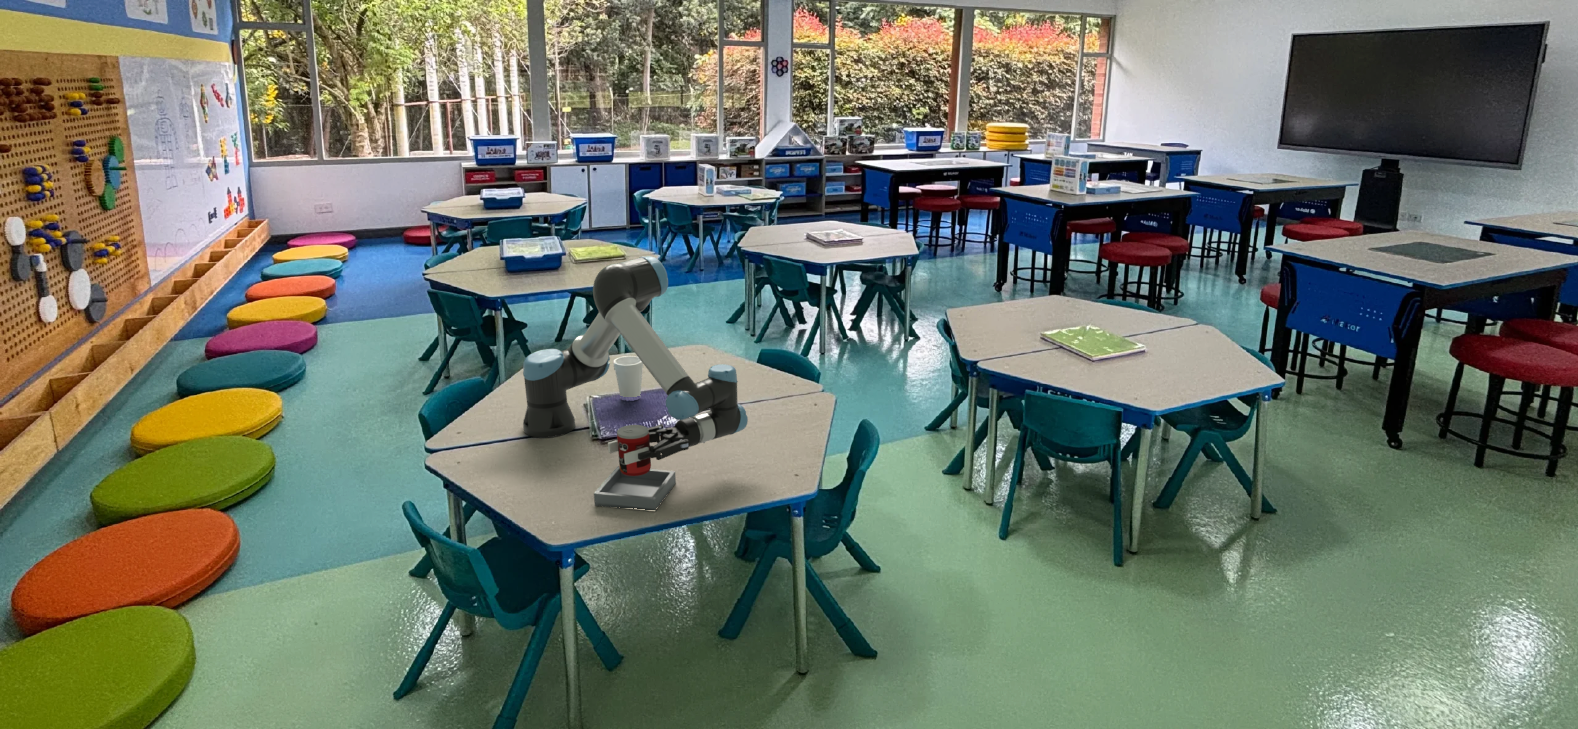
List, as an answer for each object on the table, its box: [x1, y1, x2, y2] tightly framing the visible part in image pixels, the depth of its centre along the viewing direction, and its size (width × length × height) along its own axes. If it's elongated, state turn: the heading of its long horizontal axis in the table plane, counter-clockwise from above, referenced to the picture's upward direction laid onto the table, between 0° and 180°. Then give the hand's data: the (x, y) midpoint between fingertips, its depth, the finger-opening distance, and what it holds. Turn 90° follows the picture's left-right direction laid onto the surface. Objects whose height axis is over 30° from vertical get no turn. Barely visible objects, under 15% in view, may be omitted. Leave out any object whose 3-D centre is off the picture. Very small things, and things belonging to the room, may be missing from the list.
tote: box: [593, 465, 677, 511], centre depth 236 cm, size 16×16×4 cm
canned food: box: [616, 424, 652, 476], centre depth 233 cm, size 8×8×11 cm
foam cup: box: [613, 355, 644, 397], centre depth 298 cm, size 10×9×13 cm
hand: (616, 453), depth 230 cm, fingers closed on canned food, 8 cm apart
